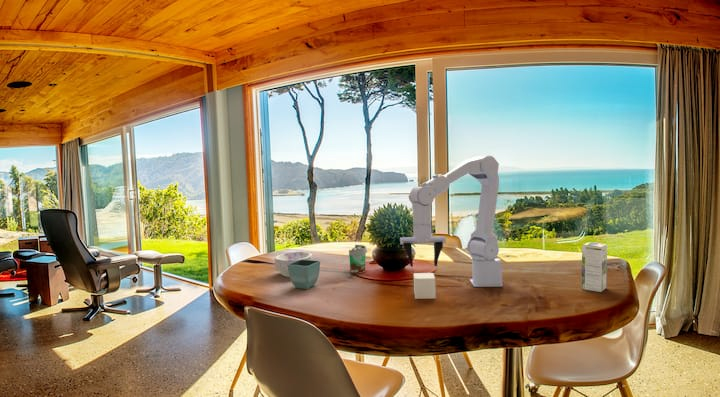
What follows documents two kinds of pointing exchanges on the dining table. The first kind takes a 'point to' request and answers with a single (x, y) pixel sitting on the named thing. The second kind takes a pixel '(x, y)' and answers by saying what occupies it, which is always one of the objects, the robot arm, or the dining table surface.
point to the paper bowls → (289, 260)
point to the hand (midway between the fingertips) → (423, 265)
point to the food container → (357, 259)
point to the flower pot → (304, 273)
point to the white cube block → (424, 286)
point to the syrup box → (594, 266)
